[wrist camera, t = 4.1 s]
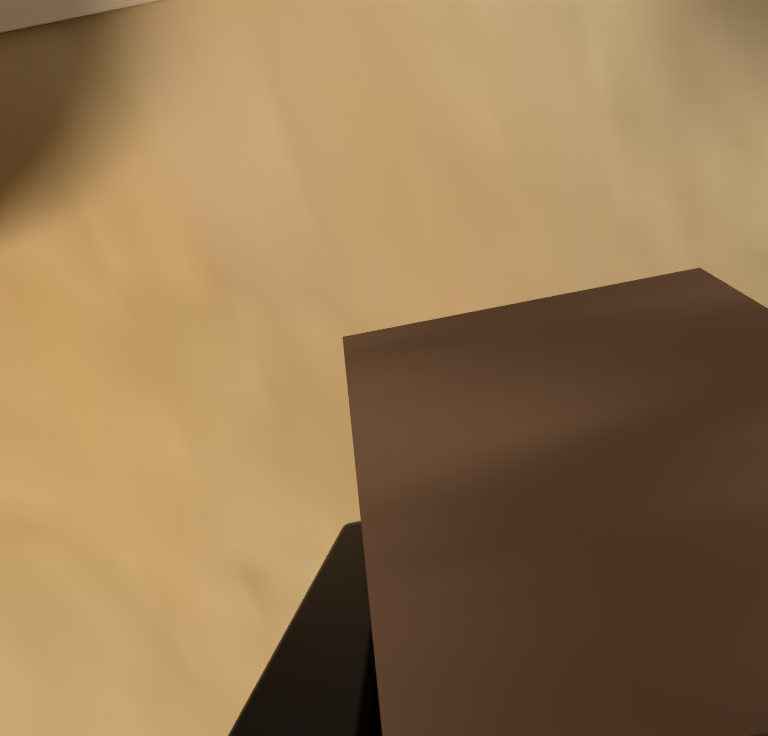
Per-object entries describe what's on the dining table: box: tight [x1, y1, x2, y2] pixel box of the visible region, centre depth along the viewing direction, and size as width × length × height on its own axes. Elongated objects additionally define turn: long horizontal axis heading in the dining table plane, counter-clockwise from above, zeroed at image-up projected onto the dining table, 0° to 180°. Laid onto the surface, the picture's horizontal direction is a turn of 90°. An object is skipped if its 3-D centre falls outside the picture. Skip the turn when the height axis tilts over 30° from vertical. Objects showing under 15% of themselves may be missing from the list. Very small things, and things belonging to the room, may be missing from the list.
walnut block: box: [343, 268, 768, 736], centre depth 7 cm, size 4×4×6 cm
